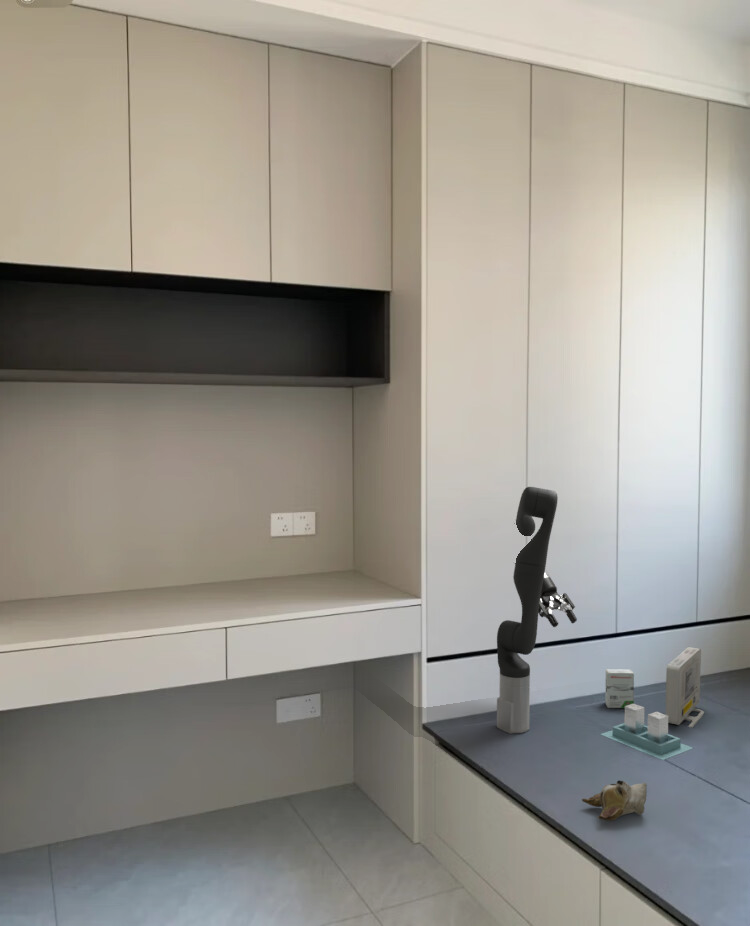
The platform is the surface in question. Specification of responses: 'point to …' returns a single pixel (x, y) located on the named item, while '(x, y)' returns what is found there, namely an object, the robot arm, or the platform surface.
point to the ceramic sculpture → (619, 800)
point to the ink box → (619, 688)
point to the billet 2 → (657, 727)
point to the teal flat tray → (647, 742)
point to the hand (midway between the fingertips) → (565, 623)
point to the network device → (683, 687)
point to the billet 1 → (634, 719)
